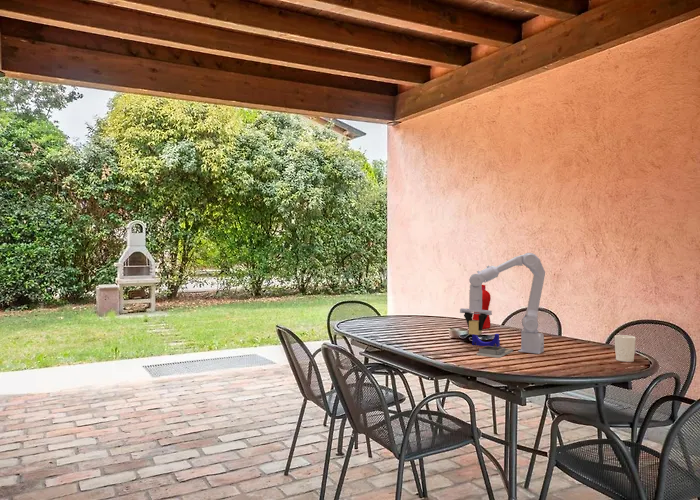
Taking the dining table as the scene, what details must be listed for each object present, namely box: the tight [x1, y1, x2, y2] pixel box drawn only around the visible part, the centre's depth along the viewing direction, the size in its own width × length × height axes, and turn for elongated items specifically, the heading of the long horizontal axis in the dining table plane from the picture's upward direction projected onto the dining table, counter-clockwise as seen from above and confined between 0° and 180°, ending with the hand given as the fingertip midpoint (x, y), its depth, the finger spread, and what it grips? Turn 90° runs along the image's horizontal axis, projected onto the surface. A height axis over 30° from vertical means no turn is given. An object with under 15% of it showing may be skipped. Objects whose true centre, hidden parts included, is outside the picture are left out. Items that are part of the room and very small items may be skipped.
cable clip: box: [471, 333, 501, 347], centre depth 267 cm, size 12×4×6 cm, turn 64°
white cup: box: [614, 334, 636, 363], centre depth 235 cm, size 8×8×10 cm
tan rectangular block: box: [468, 320, 483, 336], centre depth 257 cm, size 4×4×6 cm
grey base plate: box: [476, 346, 514, 359], centre depth 247 cm, size 10×18×3 cm, turn 146°
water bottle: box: [472, 284, 492, 330], centre depth 324 cm, size 9×11×25 cm
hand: (475, 329), depth 257 cm, fingers closed on tan rectangular block, 4 cm apart
